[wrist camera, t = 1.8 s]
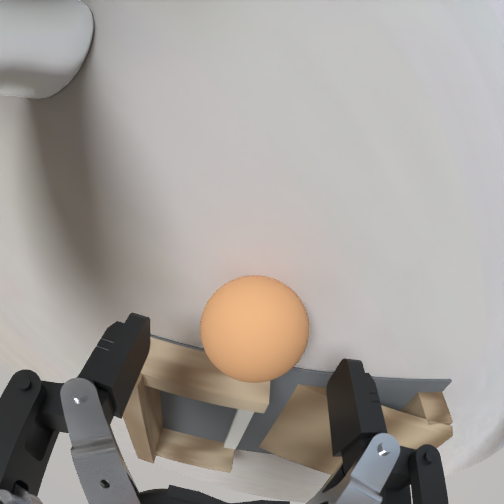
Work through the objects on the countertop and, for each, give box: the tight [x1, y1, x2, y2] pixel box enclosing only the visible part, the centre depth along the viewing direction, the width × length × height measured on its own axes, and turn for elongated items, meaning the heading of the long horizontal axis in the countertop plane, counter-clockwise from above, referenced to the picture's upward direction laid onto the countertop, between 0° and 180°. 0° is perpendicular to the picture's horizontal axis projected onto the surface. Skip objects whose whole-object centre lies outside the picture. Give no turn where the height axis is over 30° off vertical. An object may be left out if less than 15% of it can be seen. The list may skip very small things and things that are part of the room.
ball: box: [200, 276, 309, 383], centre depth 13 cm, size 5×5×5 cm
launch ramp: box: [259, 384, 453, 475], centre depth 19 cm, size 14×12×6 cm
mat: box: [150, 335, 452, 454], centre depth 21 cm, size 25×15×1 cm, turn 78°
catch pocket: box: [123, 337, 270, 473], centre depth 19 cm, size 9×15×4 cm, turn 168°
